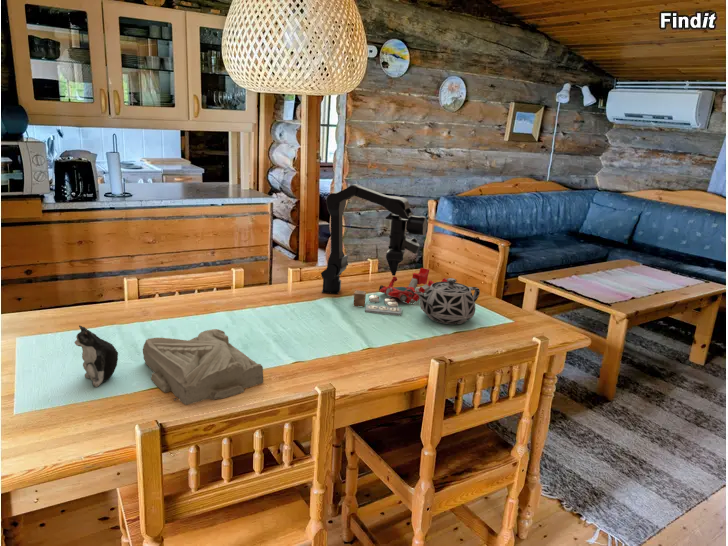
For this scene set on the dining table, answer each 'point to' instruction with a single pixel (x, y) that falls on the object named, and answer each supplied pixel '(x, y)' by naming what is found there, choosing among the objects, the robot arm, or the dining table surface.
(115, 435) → the dining table surface
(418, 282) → the toy robot
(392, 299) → the tealight
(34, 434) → the dining table surface
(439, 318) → the teapot
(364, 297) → the block
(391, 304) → the tealight
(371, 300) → the tealight
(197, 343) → the sculpture
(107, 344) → the figurine
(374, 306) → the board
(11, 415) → the dining table surface
